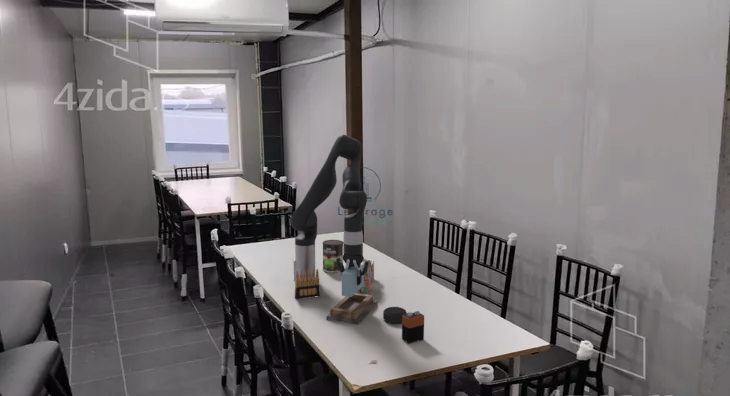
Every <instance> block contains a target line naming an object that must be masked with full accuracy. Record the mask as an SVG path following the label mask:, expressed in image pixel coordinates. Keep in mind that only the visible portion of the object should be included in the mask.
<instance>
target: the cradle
mask: <svg viewBox="0 0 730 396" xmlns="http://www.w3.org/2000/svg"><path fill="white" fill-rule="evenodd" d="M377 305H378V300H374V295H372V294H363V293H355V294H354V295H353V296H352V297H348V296H343V297H342V298H341V299H340V301H338V302H337V303H336V304H334V306H332V307H331V308H330V311H329V313H327V315H326V319H327V320H328V321H335V322H340V323H347V324H352V325H353V324H356V325H359V324H360V323H361V322H362V321H363V320H364V319H365V318H366V317H367V316H368V315H369V313H371V311H372V310H374V308H375V307H376V306H377Z"/></svg>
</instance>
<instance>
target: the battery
mask: <svg viewBox="0 0 730 396" xmlns="http://www.w3.org/2000/svg"><path fill="white" fill-rule="evenodd" d="M401 326H402V327H401V340H403V341H404V342H406V343H407V344H412V343H415V342H419V341H423V340H424V339H425V338H424V337H425V315H424V314H423V313H421V311H418V310H416V311H414V312H411V311H410V312H409V311H408V312H407V314H405V315H403V316H402V323H401Z"/></svg>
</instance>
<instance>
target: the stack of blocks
mask: <svg viewBox="0 0 730 396" xmlns="http://www.w3.org/2000/svg"><path fill="white" fill-rule="evenodd" d="M365 259H366V260H370V264H369V267H368V270H367V273H366V274H365V275H364V286H363V287H362V288H361V289H360V290H359V291H357V292H356V293H358V294H366V295H368V293H369V292H370V289H371V287H372V284H373V282H374V279H375V260H374V259H371V258H365ZM361 264H363V262H362V263H361Z"/></svg>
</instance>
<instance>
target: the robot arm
mask: <svg viewBox="0 0 730 396" xmlns="http://www.w3.org/2000/svg"><path fill="white" fill-rule="evenodd" d="M362 149H363V148H362V142H361V141H360V140H358V139H356V138H353V137H352V136H349V135H346V134H344V133H343V134H339V136H337V138H336V139H335V141H334V143H333V145H332V147H331V150H330V151H329V153H328V156H327V158H326V160H325V162H324V164H323V165H322V167H321V169H320V170H319V172H318V173H317V175H316V177H315V178H314V180H313V182H312V184H311V186H310V188H309V190H307V192H306V194H305V196H304V197H303V200H302V201H301V203H300V204H299V205H298V206H297V208H296V209H295V211H293V213H292V216H291V219H290V224H291V228H292V229H294V230H295V231H296V232H297V231H298V232H299V233H298V234H297V236H296V237H295V239H294V244H295V245H294V254H295V255H294V257H295V258H294V259H293V280H294V281H295V280H296V272H297V271H298V276H299V279H300V271H302V275H303V279H304V271H305V270H306V274H307V279H308V271H309V270H310V274H311V278H312V270H313V269H314V273H315V274H316V239H317V236H318V215H317V213H316V212H315V210H316V209H317V208H318V207H319V206H320V205H322V204H323V203H324V202H325V201H326V200H327V199H328V198H329V197H330V196H331V194H332V193H333V190H334V189H335V187H336V186H337V172H336V164H337V160H338V159H339V157H340V158H343V159H345V160H349V161H350V163H349V165H347V166H346V167H345V169H344V170H343V173H342V191H341V193H340V195H339V200H338V201H339V202H338V203H339V206H340V207H341V208H342V209H344V210H356V212H355V213H351V214H347V215H345V216H344V219H343V224H344V225H343V242H344V243H343V257H338V258H337V259H336V261H337V264H338V267H339V270H340V272H339V273H341V274H342V272H344V271H345V270H346V269H349V268H350V267H354V268H355V270H356V271H357V285H360V284H361V282H362V275H365V274H366V273H367V270H368V267H369V264H370V260H366V259H367V258H365V257H364V235H363V234H364V233H363V218H364V214H365V209H366V206H367V202H368V195H367V194H366V192H365V191H364V190H361V188H362V182H361V173H360V172H361V171H360V170H361V161H362ZM362 262H363V264H364V268H363V271H362V270H361V263H362ZM344 263H345V266H344Z"/></svg>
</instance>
